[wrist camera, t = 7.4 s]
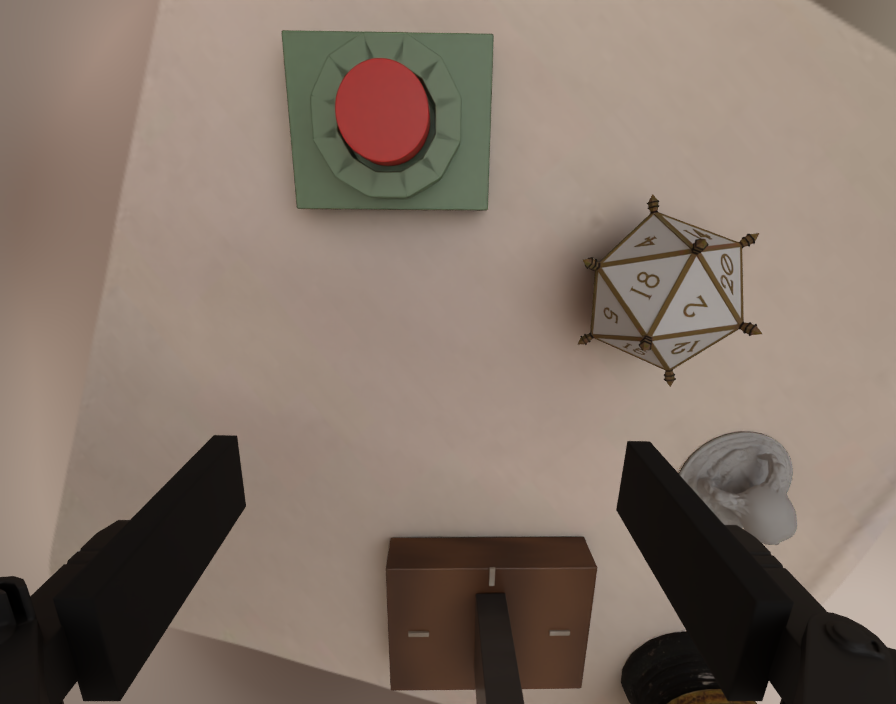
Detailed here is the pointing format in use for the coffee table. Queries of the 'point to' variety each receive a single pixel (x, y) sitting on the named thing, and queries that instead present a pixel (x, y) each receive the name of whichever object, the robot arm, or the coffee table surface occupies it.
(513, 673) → the dark grey block
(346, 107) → the button
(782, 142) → the coffee table surface
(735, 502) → the miniature
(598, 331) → the game die
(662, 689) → the lantern
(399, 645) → the block
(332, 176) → the button block
